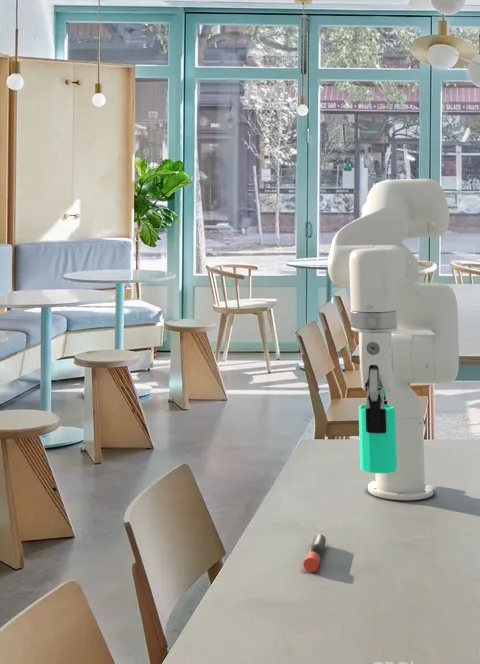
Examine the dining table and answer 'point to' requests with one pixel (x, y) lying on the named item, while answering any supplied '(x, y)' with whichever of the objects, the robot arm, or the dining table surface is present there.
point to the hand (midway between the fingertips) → (377, 427)
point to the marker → (314, 553)
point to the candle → (378, 444)
